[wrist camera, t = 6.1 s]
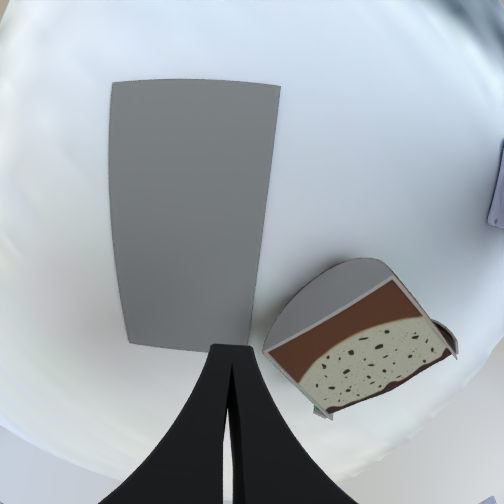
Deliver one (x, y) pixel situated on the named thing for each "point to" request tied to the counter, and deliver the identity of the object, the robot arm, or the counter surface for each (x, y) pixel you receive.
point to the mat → (189, 206)
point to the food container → (354, 336)
